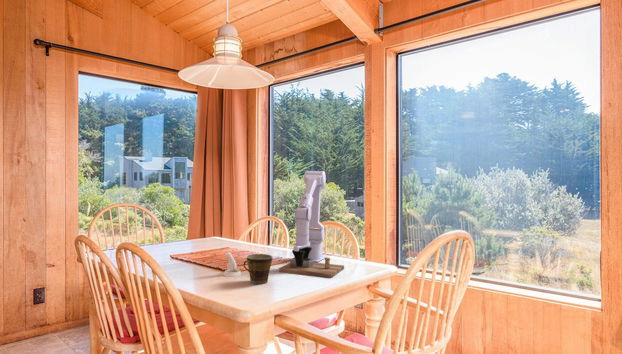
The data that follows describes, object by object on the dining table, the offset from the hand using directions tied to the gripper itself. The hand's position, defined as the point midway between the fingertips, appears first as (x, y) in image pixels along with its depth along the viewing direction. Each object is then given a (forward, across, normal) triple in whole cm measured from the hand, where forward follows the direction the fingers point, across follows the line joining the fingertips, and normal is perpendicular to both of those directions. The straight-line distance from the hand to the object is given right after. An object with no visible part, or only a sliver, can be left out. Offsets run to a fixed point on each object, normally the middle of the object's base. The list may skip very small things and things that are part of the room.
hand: (301, 264), depth 180 cm
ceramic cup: (+2, +29, -7) cm, 30 cm away
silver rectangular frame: (0, 0, 0) cm, 0 cm away
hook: (+2, +22, -22) cm, 31 cm away
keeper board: (+2, 0, +5) cm, 5 cm away
